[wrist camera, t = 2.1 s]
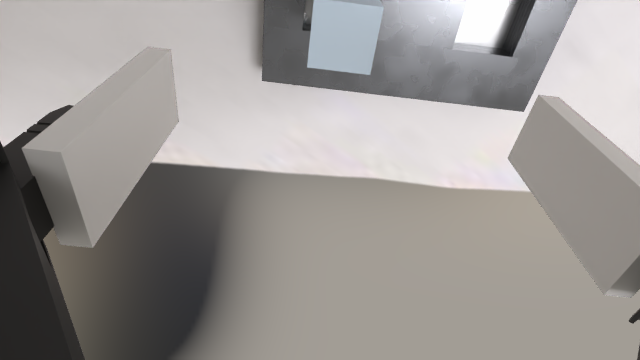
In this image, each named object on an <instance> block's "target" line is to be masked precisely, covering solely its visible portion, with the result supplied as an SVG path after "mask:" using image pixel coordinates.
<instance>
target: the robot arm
mask: <svg viewBox="0 0 640 360" xmlns="http://www.w3.org/2000/svg"><path fill="white" fill-rule="evenodd" d="M178 122H179V119H178V110H177V101H176V92H175V83H174V74H173V65H172V56H171V49H163V48H154V47H147V48H146V49H144V50H143V51H142V52H141V53H140V54H138V55H137V56H136V57H135V58H133V59H132V60H131V61H130V62H128V63H127V64H126V65H125V66H123V67H122V68H121V69H120V70H118V71H117V72H116V73H115V74H113V75H112V76H111V77H110V78H108V79H107V80H106V81H105V82H103V83H102V84H101V85H100V86H98V87H97V88H96V89H95V90H93V91H92V92H91V93H90V94H88V95H87V96H86V97H85V98H83V99H82V100H81V101H80V102H78V103H77V104H76V105H75V106H71V105H67V106H65V107H62V108H60V109H57V110H55V111H52V112H50V113H49V114H47V115H46V116H45V117H43V118H42V119H41V120H39V121H38V122H37V124H34V125H33V126H31V127H30V128H29V129H27V132H23V133H22V134H21V135H19V136H18V137H17V138H15V139H14V140H13V141H11V142H10V143H9V144H8V145H6V146H5V147H4V148H3V147H2V144H1V142H0V360H85V358H84V355H83V352H82V349H81V347H80V344H79V341H78V338H77V335H76V332H75V329H74V326H73V323H72V320H71V317H70V314H69V312H68V309H67V306H66V303H65V300H64V297H63V294H62V291H61V288H60V285H59V282H58V279H57V277H56V274H55V271H54V268H53V265H52V262H51V259H50V256H49V253H48V251H47V248H46V245H45V243H44V241H43V239H44V237H45V236H46V235H47V234H48V233H49V231H50V230H51V229H52V228H54V230H55V232H56V235H57V237H58V240H59V243H60V244H61V245H69V246H80V247H91V248H92V247H94V245H95V244H96V242H97V241H98V239H99V238H100V236H101V235H102V233H103V232H104V230H105V229H106V228H107V226H108V224H109V223H110V222H111V220H112V219H113V217H114V216H115V214H116V213H117V211H118V210H119V208H120V207H121V205H122V204H123V203H124V201H125V200H126V198H127V197H128V195H129V194H130V192H131V191H132V189H133V188H134V186H135V185H136V183H137V182H138V180H139V179H140V177H141V176H142V175H143V173H144V172H145V170H146V168H147V167H148V166H149V164H150V163H151V161H152V160H153V158H154V157H155V155H156V154H157V153H158V151H159V150H160V148H161V147H162V145H163V144H164V142H165V141H166V139H167V138H168V136H169V135H170V133H171V132H172V130H173V129H174V128H175V126H176V125H177V123H178ZM508 160H509V161H510V163H511V164H512V165H513V167H514V168H515V170H516V171H517V172H518V174H519V175H520V177H521V178H522V180H523V181H524V182H525V184H526V185H527V187H528V188H529V190H530V191H531V192H532V194H533V195H534V197H535V198H536V199H537V201H538V202H539V204H540V205H541V207H542V208H543V209H544V211H545V212H546V213H547V215H548V217H549V218H550V219H551V221H552V222H553V224H554V225H555V226H556V228H557V229H558V231H559V232H560V233H561V235H562V236H563V238H564V239H565V241H566V242H567V243H568V245H569V246H570V248H571V249H572V251H573V252H574V253H575V255H576V256H577V258H578V259H579V261H580V262H581V263H582V264H583V266H584V267H585V269H586V270H587V272H588V273H589V275H590V276H591V278H592V279H593V280H594V282H595V283H596V285H597V286H598V287H599V289H600V290H601V292H602V293H603V295H609V296H619V297H630V298H631V297H632V296H633V295H634V294H635V293H636V292H637V291H638V290H639V289H640V165H639V164H637V163H636V162H635V161H634V160H633V159H632V158H630V157H629V156H628V155H627V154H626V153H624V152H623V151H622V150H621V149H620V148H618V147H617V146H616V145H615V144H614V143H613V142H611V141H610V140H609V139H608V138H607V137H605V136H604V135H603V134H602V133H601V132H599V131H598V130H597V129H596V128H595V127H594V126H592V125H591V124H590V123H589V122H588V121H586V120H585V119H584V118H583V117H582V116H580V115H579V114H578V113H577V112H576V111H574V110H573V109H572V108H571V107H570V106H569V105H567V104H566V103H565V102H564V101H563V100H561V99H560V98H559V97H552V96H544V95H538V97H537V99H536V101H535V103H534V105H533V107H532V109H531V111H530V113H529V116H528V118H527V120H526V122H525V124H524V126H523V128H522V130H521V132H520V134H519V136H518V138H517V140H516V142H515V144H514V146H513V148H512V150H511V152H510V154H509V156H508ZM637 320H640V309H639V310H638V311H637V312H636V313H635V314H634V315H633V316H632V317H631V318H630V320H629V322H631V323H634V322H635V321H637ZM637 360H640V346H639V352H638V359H637Z"/></svg>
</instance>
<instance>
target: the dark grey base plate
mask: <svg viewBox="0 0 640 360" xmlns="http://www.w3.org/2000/svg"><path fill="white" fill-rule="evenodd" d="M380 1H381V3H382V5H383V7H384V9H383V14H382V19H381V24H380V29H379V34H378V39H377V44H376V49H375V54H374V59H373V63H372V68H371V73H370V75H366V74H358V73H349V72H341V71H333V70H325V69H316V68H308V67H307V63H308V53H309V43H310V33H311V23H312V13H313V3H314V0H264V31H263V65H262V81H267V82H275V83H284V84H292V85H301V86H309V87H318V88H326V89H335V90H343V91H352V92H360V93H369V94H377V95H386V96H394V97H403V98H411V99H420V100H428V101H437V102H445V103H454V104H462V105H471V106H479V107H488V108H496V109H505V110H513V111H522V112H524V110H525V108H526V106H527V104H528V102H529V100H530V98H531V96H532V94H533V92H534V90H535V87H536V85H537V83H538V81H539V79H540V77H541V75H542V73H543V71H544V69H545V67H546V65H547V62H548V60H549V58H550V56H551V54H552V52H553V50H554V48H555V46H556V44H557V42H558V40H559V37H560V35H561V33H562V31H563V29H564V27H565V25H566V23H567V21H568V19H569V17H570V15H571V12H572V10H573V8H574V6H575V4H576V2H577V0H380Z"/></svg>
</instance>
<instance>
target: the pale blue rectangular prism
mask: <svg viewBox="0 0 640 360" xmlns="http://www.w3.org/2000/svg"><path fill="white" fill-rule="evenodd" d="M383 9H384V7H383V5H382V3H381V1H380V0H314V3H313V13H312V23H311V33H310V43H309V53H308V63H307V67H308V68H316V69H325V70H333V71H341V72H349V73H358V74H366V75H370V73H371V68H372V63H373V59H374V54H375V49H376V44H377V39H378V34H379V29H380V24H381V19H382V14H383Z"/></svg>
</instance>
